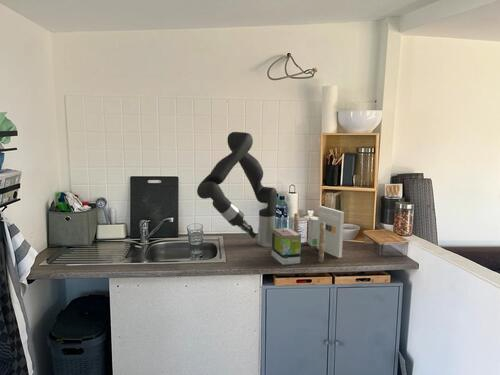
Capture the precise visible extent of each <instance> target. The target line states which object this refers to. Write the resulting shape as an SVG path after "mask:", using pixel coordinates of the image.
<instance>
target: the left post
mask: <svg viewBox="0 0 500 375" xmlns="http://www.w3.org/2000/svg"><path fill="white" fill-rule="evenodd" d="M293 217H294V218H293V219H294V220H293V230H294V231H296V232H297V233H299V231H300V230H299V228H300V227H299V224H300V223H299V222H300V214H299V213H297V212H296V213H294V215H293Z"/></svg>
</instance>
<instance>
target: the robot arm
mask: <svg viewBox="0 0 500 375" xmlns="http://www.w3.org/2000/svg"><path fill="white" fill-rule="evenodd" d="M226 142H227V145H228V148H229V149H230V151H231V152H230V153H229V154H227V155H226V156H225V157H223V158H221V159H220V160H219V161H218V162H217V163H216V164H215V166H214V167H213V169H211V171H210V173H209V174H208V175H207V176H206V177H205V178H204V179H203V180H202V181H201V182H200V183H199V185H198V186H197V188H196V189H197V190H196V194H197V196H198V197H199V198H200V199H202V200H204V199H205V200H206V199H211V200H212V206H213V208H214V209H215V210H216V211H217V212H218V213H219V214H220V216H222V217H223V218H224V219H225V220H226V221H227V222H228V224H230V225H231V226H233V227H235V226H237V227H238V228H239V229H240V230H241V231H243V232H245V233H247V235H249V236H250V237H251V238H252V239H254V238H256V237H257V245H258V246H260V247H264V248H268V247H269V248H270V247H271V248H272V229H276V212H277V200H278V191H277V188H275V187H271V186H270V187H269V186H263V184H262V183H261V182H262V180H263V177H264V169H263V167H262V166H261V163H260V162H259V160H258V159H257V158H256V157H254V156H253V155H252V154H251V153H250V152H249V151H250V150H251V149H252V146H253V143H254V140H253V136H252V134H251V133H249V132H242V131H232V132H230V133H229V134H228V135H227V141H226ZM238 163H239V165H240V167H241V168H242V171H243V173H244V175H245V177H246V178H247V180H248V181H249V183H250V186H251V188H252V190H253V194H254V195H255V198H256V200H257V201H258V202H259V203H262V204H266V205H267V206H266V207H264V208H261V209H260V210H258V227H257V228H258V229H257V233H258V234H256V233H255V232H254V229H253V227H252V225H250V224H249V223H248V221H247V220H246V219H245V215H244V213H243V212H242V211H241V210H240V209H239V208H238V207H237V206H236V205H235V204H234V203H232V201H230V200H229V199H228V198H227V197H226V195H225V193H224V192H223V190H222V188H221V187H220V185H221V184H222V183H224V182H225V180H226V178H227V176H229V175H230V173H231V171H232V169H233V168H234V167H235V166H237V164H238Z"/></svg>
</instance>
